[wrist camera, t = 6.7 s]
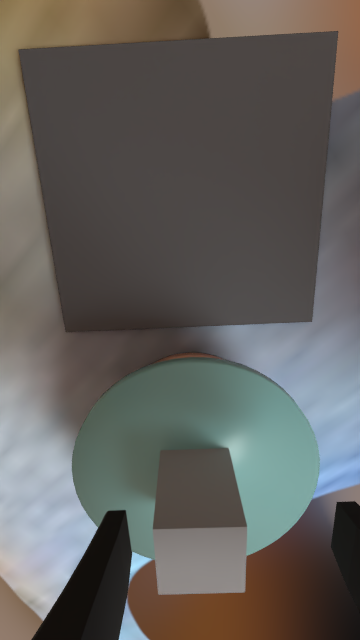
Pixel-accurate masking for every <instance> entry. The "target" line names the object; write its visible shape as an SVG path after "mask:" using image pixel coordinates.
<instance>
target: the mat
mask: <svg viewBox="0 0 360 640" xmlns="http://www.w3.org/2000/svg"><path fill="white" fill-rule="evenodd" d="M337 38H338V31H333V32H332V31H331V32H314V33H296V34H279V35H263V36H247V37H246V36H245V37H227V38H210V39H193V40H175V41H158V42H141V43H123V44H106V45H89V46H71V47H54V48H37V49H19V55H20V61H21V67H22V73H23V79H24V85H25V91H26V97H27V103H28V109H29V115H30V121H31V127H32V133H33V139H34V145H35V151H36V157H37V163H38V169H39V175H40V181H41V187H42V193H43V199H44V205H45V211H46V217H47V223H48V229H49V235H50V241H51V247H52V253H53V259H54V265H55V271H56V276H57V282H58V288H59V294H60V300H61V306H62V312H63V318H64V324H65V330H66V332H77V331H101V330H125V329H149V328H172V327H196V326H220V325H244V324H267V323H291V322H312V316H313V305H314V294H315V283H316V272H317V261H318V250H319V239H320V228H321V217H322V205H323V194H324V183H325V172H326V161H327V150H328V139H329V128H330V117H331V106H332V94H333V84H334V83H333V82H334V73H335V62H336V50H337Z"/></svg>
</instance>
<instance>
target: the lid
mask: <svg viewBox="0 0 360 640" xmlns="http://www.w3.org/2000/svg"><path fill="white" fill-rule="evenodd" d="M319 465H320V458H319V450H318V445H317V441H316V438H315V435H314V432H313V430H312V428H311V426H310V424H309V422H308V420H307V418H306V417H305V415H304V414H303V413H302V411H301V410H300V408H299V407H298V406H297V404H296V403H295V401H294V400H293V399H292V398H291V397H290V396H289V394H288V393H287V392H286V391H285V390H284V389H283V388H282V387H280V386H279V385H278V384H277V383H275V382H274V381H273V380H271V379H270V378H268V377H267V376H265V375H263V374H262V373H260V372H258V371H256V370H254V369H251V368H249V367H247V366H244V365H242V364H238V363H235V362H231V361H228V360H223V359H216V358H209V357H186V358H176V359H170V360H166V361H161V362H157V363H154V364H152V365H149V366H146V367H143V368H141V369H139V370H137V371H135V372H133V373H131V374H129V375H127V376H125V377H124V378H123V379H121V380H120V381H118V382H117V383H115V384H114V385H113V386H112V387H111V388H109V389H108V390H107V391H106V392H105V393H104V394H103V395H102V396H101V397H100V399H99V400H98V401H97V402H96V403H95V405H94V406H93V408H92V409H91V411H90V413H89V414H88V416H87V418H86V419H85V421H84V423H83V425H82V427H81V429H80V431H79V434H78V436H77V439H76V442H75V446H74V450H73V457H72V474H73V482H74V486H75V489H76V493H77V495H78V498H79V500H80V502H81V505H82V506H83V508H84V510H85V511H86V513H87V514H88V516H89V517H90V518H91V520H92V521H93V522H94V523H95V524H96V526H97V527H99V525H100V524H101V522H102V520H103V517H104V515H105V513H106V512H107V511H110V510H126V515H127V522H128V529H129V536H130V543H131V550H132V552H135V553H137V554H139V555H142V556H144V557H148V558H151V559H154V560H155V562H156V573H157V583H158V594H198V593H234V592H235V593H237V592H238V593H239V592H245V578H246V556H247V555H249V554H252V553H254V552H256V551H258V550H260V549H262V548H264V547H266V546H268V545H269V544H271V543H272V542H274V541H276V540H277V539H279V538H280V537H281V536H282V535H283V534H285V533H286V532H287V531H288V530H289V529H290V528H291V527H292V526H293V525H294V524H295V523H296V522H297V521H298V520H299V518H300V517H301V515H302V514H303V513H304V511H305V510H306V508H307V506H308V505H309V503H310V501H311V499H312V497H313V494H314V492H315V489H316V486H317V481H318V476H319Z"/></svg>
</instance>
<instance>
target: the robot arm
mask: <svg viewBox="0 0 360 640" xmlns="http://www.w3.org/2000/svg"><path fill="white" fill-rule="evenodd" d="M331 548H332V550H333V553H334V556H335V558H336V561H337V563H338V566H339V568H340V571H341V573H342V576H343V578H344V581H345V583H346V586H347V588H348V590H349V592H350V594H351V596H352V598H353V600H354V602H355V604H356V606H357V608H358V610H359V613H360V506H359V505H358V504H357V503H356V502H337V505H336V512H335V520H334V528H333V536H332V543H331ZM131 558H132V550H131V543H130V536H129V529H128V522H127V515H126V510H110V511H107V512H106V513H105V515H104V517H103V520H102V522H101V524H100V525H99V527H98V529H97V531H96V533H95V535H94V537H93V539H92V541H91V543H90V544H89V546H88V548H87V550H86V552H85V554H84V555H83V557H82V559H81V561H80V562H79V564H78V566H77V567H76V569H75V571H74V573H73V574H72V576H71V578H70V579H69V581H68V583H67V585H66V586H65V588H64V590H63V591H62V593H61V594H60V596H59V598H58V599H57V601H56V602H55V604H54V606H53V607H52V609H51V610H50V612H49V613H48V615H47V617H46V618H45V620H44V621H43V623H42V624H41V626H40V628H39V629H38V631H37V632H36V634H35V635H34V637H33V638H32V640H119V634H120V629H121V624H122V619H123V614H124V609H125V604H126V598H127V593H128V585H129V576H130V567H131Z"/></svg>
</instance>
